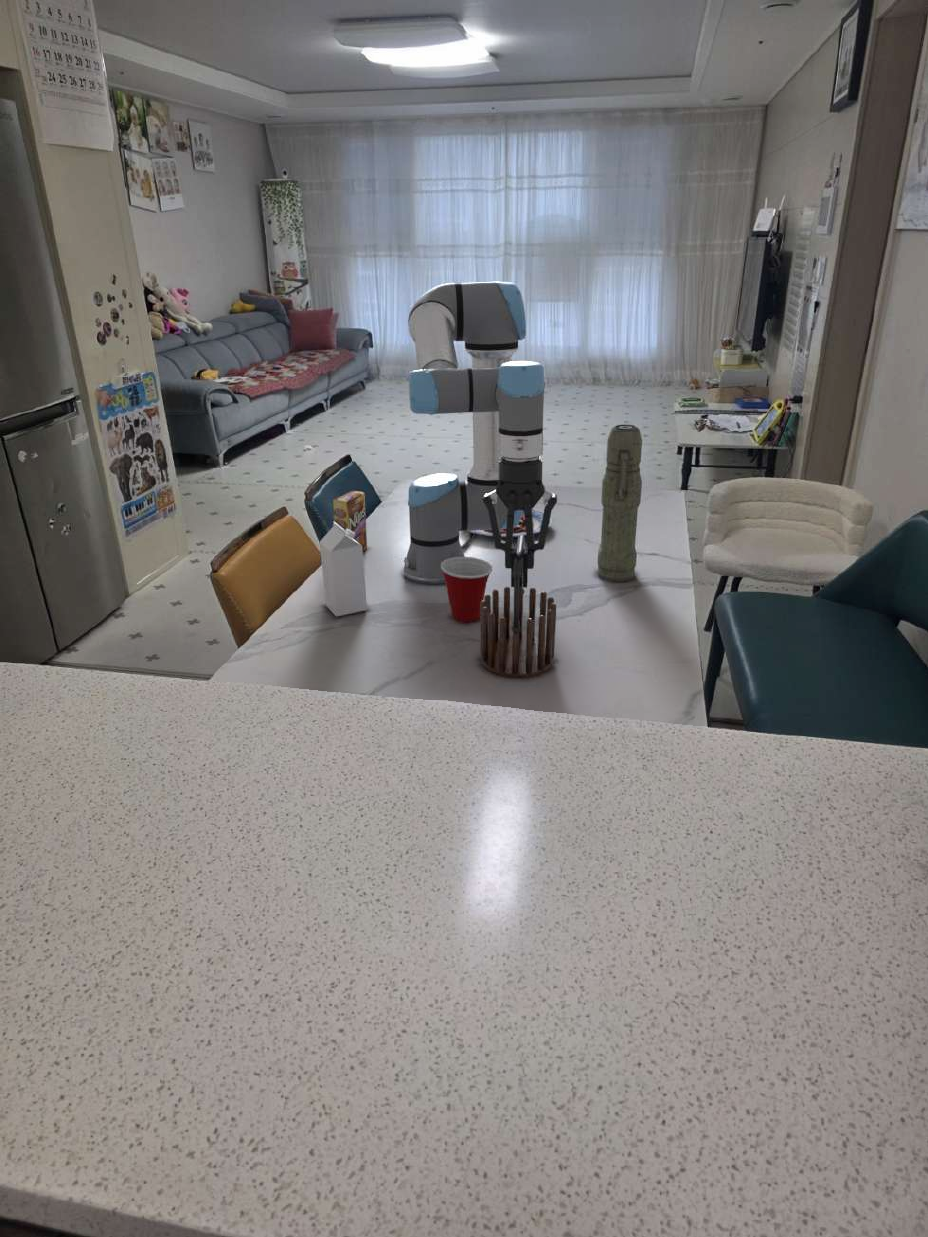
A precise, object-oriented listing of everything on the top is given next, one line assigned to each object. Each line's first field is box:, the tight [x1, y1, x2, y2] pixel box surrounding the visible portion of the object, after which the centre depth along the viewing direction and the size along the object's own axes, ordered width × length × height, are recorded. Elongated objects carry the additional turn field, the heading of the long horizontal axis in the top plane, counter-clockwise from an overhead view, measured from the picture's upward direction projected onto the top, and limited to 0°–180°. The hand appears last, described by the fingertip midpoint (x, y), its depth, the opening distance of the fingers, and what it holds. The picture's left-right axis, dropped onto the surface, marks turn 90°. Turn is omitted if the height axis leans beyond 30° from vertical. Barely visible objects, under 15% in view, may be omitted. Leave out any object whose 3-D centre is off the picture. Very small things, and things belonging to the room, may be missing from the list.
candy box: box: [332, 490, 368, 551], centre depth 209 cm, size 9×4×15 cm, turn 155°
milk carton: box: [319, 520, 368, 618], centre depth 177 cm, size 7×7×19 cm
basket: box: [479, 535, 557, 679], centre depth 152 cm, size 16×22×14 cm
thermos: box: [597, 424, 643, 583], centre depth 188 cm, size 9×12×35 cm
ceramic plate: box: [468, 508, 553, 538], centre depth 227 cm, size 26×26×3 cm
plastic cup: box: [441, 556, 493, 623], centre depth 173 cm, size 11×11×12 cm
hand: (519, 584), depth 150 cm, fingers closed on basket, 1 cm apart
